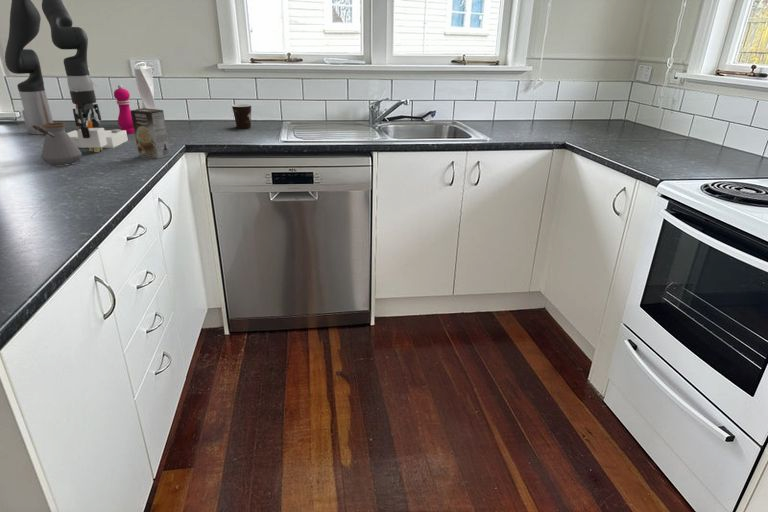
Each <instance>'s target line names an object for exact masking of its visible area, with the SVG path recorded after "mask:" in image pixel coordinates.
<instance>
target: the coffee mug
mask: <svg viewBox="0 0 768 512" xmlns="http://www.w3.org/2000/svg"><path fill="white" fill-rule="evenodd" d="M231 108H232V112H233V117H234V121H235V126H236V128H237V129H239V130H240V129H241V130H242V129H243V130H245V129H251V127H252V105H251V104H245V103H242V104H241V103H240V104H232V105H231Z"/></svg>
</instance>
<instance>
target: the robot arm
mask: <svg viewBox="0 0 768 512" xmlns="http://www.w3.org/2000/svg"><path fill="white" fill-rule="evenodd" d="M41 10H42V12H43V14H44V17H45V19H46V20H47V22H48V24H49V27H50V36H51V42H52V43H53V45H54V46H55V47H56V48H58V49H60V50H76V53H75V54H74V55H71V56H67V57H65V58H63V66H64V70H65V74H66V80H67V87H68V90H69V94H70V99H71V102H72V104H74V105H76V104H77V106H78V109H76V108H73V109H72V112H73V117H74V122H75V126H76V127H78V126H79V127H80V128H81V131H82V135H83V138H90V134H89V129H88V122H89V121H91V122H92V127H93V128H101V127H100V123H101V122H100V121H102V117H101V111H100V108H99V104H98V103H97V99H96V94H95V89H94V85H93V84H92V80H93V79H92V78H91V75H90V71H89V69H90V68H89V65H88V46H89V44H88V43H89V39H88V35H87V32H86V31H85V30H84V29H83V28H82V27H80V26H73V23H74V22H73V20H72V18H71V15H70V14H69V12H68V10H67V8H66V7H65V4H64V3H63V0H42V1H41ZM40 27H41V14H40V12H39V10H38V9H37V7H36V5H35V4H34V3H33V2H32V0H11V4H10V12H9V28H8V29H9V30H8V31H9V32H8V38H7V43H6V47H5V51H4V60H5V66H6V68H7V70H8V71H9V72H11V73H12V74H15V75H16V74H17V75H22V74H24V75H25V74H27V75H28V74H29V76H28V77H27V79H25V80H23V81H21V82H19V83H18V84H17V85H16V86H17V90H18V94H19V97H20V102H21V105H22V108H23V109H22V110H21V113H22V116H23V120H24V124H25V127H26V130H27V134H30V135H31V134H32V135H46V134H45V133H42V132H40V131H39V130H38V131H37V130H36V129H35V128H33V127H32V126H33V125H35V126H39V127H40V128H43V129H44V130H45V128H44V127H43V126H42V125H43V124H49V123H54V119H53V116H52V111H51V109H50V105H49V100H48V97H47V93H46V90H45V89H46V88H45V84H44V83H45V82H44V77H43V74H42V73H43V72H42V68H41V63H40V60H39V56H38V55H37V53H36V52H35V50H34V49H30V48H29V49H28V48H25V47H26V46H27V45H29V44H30V43H31V42H32V41H33V40H34V39H35V38H36V37H37V36H38V34H39V32H40ZM88 68H89V69H88ZM78 120H79V122H78ZM84 122H85V123H84ZM30 127H31V128H30ZM79 127H78V128H79ZM30 130H31V131H32V132H31V131H30ZM36 131H37V132H36Z"/></svg>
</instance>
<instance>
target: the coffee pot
mask: <svg viewBox="0 0 768 512" xmlns="http://www.w3.org/2000/svg"><path fill="white" fill-rule="evenodd" d="M66 125H67V124H66V123H65V122H53V123H49V124H43V125H42V126H43V127H44V128H45V130H44V129H43V128H40V127H39V126H35V125H33V126H32V127H33V128H35V129H36V130H37V131H38V130H39V131H40V132H42V133H45V134H44V135H45V137H44V143H43V148H42V153H41V156H40V157H41V159H42V160H43V161H44V162H45V163H47V164H51V165H50V166H52V165H65V164H72V163H75V162H77V163H78V161H79V160H80V159H81V158H82V152H81V150H80V149H79V148H77V146H76V145H75V143H74V142H73V141H72V139H71V138H70V137H69V135H68V134H67V133H68V132H67V131H66V130H65V129H66V128H65V126H66ZM30 128H31V127H30ZM30 131H31V130H30ZM37 131H36V132H37ZM31 132H32V131H31ZM75 164H76V163H75ZM72 165H73V164H72Z"/></svg>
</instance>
